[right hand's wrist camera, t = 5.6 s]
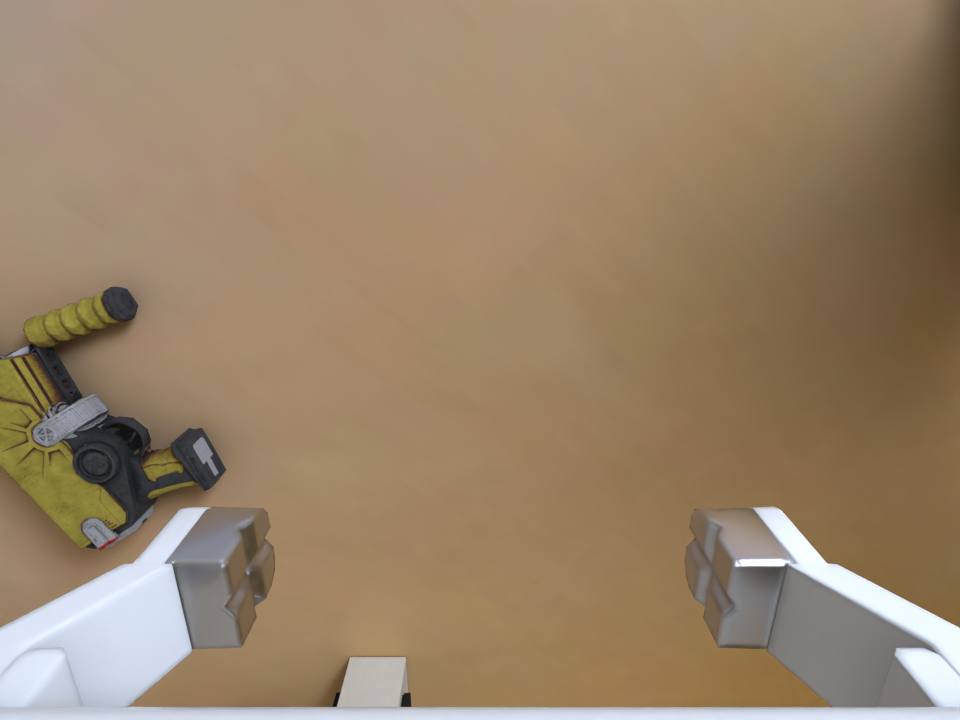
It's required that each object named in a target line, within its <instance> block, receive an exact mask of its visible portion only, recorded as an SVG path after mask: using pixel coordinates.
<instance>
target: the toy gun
mask: <svg viewBox="0 0 960 720" xmlns="http://www.w3.org/2000/svg"><path fill="white" fill-rule="evenodd" d="M137 308H138V304H137V303H136V301H135V300H134V298H133V297H132V296H131V294H130V293H129V291H128V290H127V289H125V288H120V287H110V288H109V289H107V290H105V291H103V292H101V293H100V294H98V295H96V296H94V298H93V297H92V298H86V299H82V300H80V302H79V303H78V304H76V303H71V304H69V305H67V306H65V307H63V308H62V309H57V310H52V311H50V312H48V313H46V314H45V316H35V317H32V318H30V319H27V320H26V322H25V323H24V329H23V330H24V332H25V334H26V338H27V339H28V340H29V341H30V342H31V343H32V344H31V345H28V346H26V347H24V348H22V349H20V350H18V351H14V352H11V353H9V354H8V355H7V356H4V355H0V466H1V467H2V468H3V469H4V470H5V471H6V472H7V473H8V474H9V475H10V476H11V477H12V478H13V479H14V480H15V481H16V482H17V483H18V484H19V485H20V487H21V488H22V489H23V490H24V491H25V492H26V493H27V494H28V495H29V496H30V497H31V498H32V499H33V500H34V501H35V502H36V503H37V504H38V505H39V506H40V507H41V508H42V509H43V510H44V511H45V512H46V514H47V515H48V516H49V517H50V518H51V519H52V520H53V521H54V522H55V523H56V524H57V525H58V526H59V527H60V528H61V529H62V530H63V531H64V532H65V533H66V534H67V535H68V536H69V537H70V538H71V539H72V541H73V542H74V543H75V544H76V545H77V546H78V547H79V548H80V549H83V548H85V547H87V548H92V549H99V550H101V549H103V548H110V547H111V546H113V545H114V544H116V543H118V542H119V541H121V540H122V539H124V538H126V537H127V536H129V535H130V534H132V533H134V532H135V531H136V530H137V529H138V528H139V527H140V526H141V525H142V524H143V523H144V522H145V521H146V520H147V519H148V518H149V517H150V516H151V515H152V514H153V507H154V503H155V502H156V499H157V496H159V495H161V494H164V493H167V492H170V491H173V490H176V489H179V488H183V487H188V486H194V485H200V486H201V488H202V489H203V490H204V491H206V490H208V489H210V488H211V487H212V486H213V485H214V484H215V483H216V481H217V480H218V479H219V478H220V477H221V476H222V474H223V473H224V472H225V471H226V468H225V466H224V465H223V463H222V461H221V459H220V458H219V456H218V454H217V452H216V451H215V449H214V447H213V446H212V444H211V442H210V441H209V439H208V437H207V436H206V434H205V432H204V431H203V429H202V428H201V429H190V428H189V429H188V430H187V431H186V432H184V433H183V434H182V435H181V436H180V437H179V438H177V439H176V440H175V441H174V442H173V443H172V444H171V447H169V448H167V449H157V450H156V451H153V450H151V449H150V441H151V439H150V436H149V432H148V429H146V428H145V427H144V426H143V425H141V424H140V423H139V422H137V421H136V420H135V419H134V418H128V417H117V418H116V417H113V416H110V415H108V414H105V413H106V412H108V411H109V409H108V408H107V406H106V405H105V404H104V403H103V402H102V400H101V399H100V398H99V397H98V396H97V394H92V395H90V396H88V397H86V398H83V397H82V395H81V393H80V392H79V390H78V388H77V387H76V385H75V383H74V382H73V380H72V378H71V377H70V375H69V373H68V372H67V370H66V368H65V367H64V365H63V363H62V362H61V360H60V358H59V357H58V355H57V353H56V352H55V350H54V348H53V347H52V346H54V345H57V344H59V343H61V341H66V342H68V341H70V340H72V339H74V338H76V337H77V335H81V336H85V335H87V334H89V333H91V331H92V330H93V329H100V330H101V329H103V328H106V327H107V325H108V324H109V323H113V324H118V323H120V322H121V321H128V320H132V319H133V318H134V317H135V315H136V311H137Z"/></svg>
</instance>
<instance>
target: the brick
mask: <svg viewBox="0 0 960 720" xmlns="http://www.w3.org/2000/svg"><path fill="white" fill-rule="evenodd" d="M404 693H408V681H407V665H406V657H350V659H349V663H348V666H347V670H346V674H345V678H344V681H343V685H342V689H341V693H340V696H339V700H338V704H337V707H401V701H402V695H404Z"/></svg>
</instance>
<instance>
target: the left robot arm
mask: <svg viewBox="0 0 960 720" xmlns="http://www.w3.org/2000/svg"><path fill="white" fill-rule="evenodd" d="M339 696H340V693H336V696H335V700H334V704H333V707H337V704H338V700H339ZM401 707H411V696H410V693H404V695H402V701H401Z"/></svg>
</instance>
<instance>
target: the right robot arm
mask: <svg viewBox="0 0 960 720" xmlns="http://www.w3.org/2000/svg"><path fill="white" fill-rule="evenodd" d="M269 529H270V523H269V518H268V513H267V512H266V511H265V510H264V509H263V508H224V507H212V508H209V507H186V508H183V509H180V510H179V511H178V512H177V513H176V514H175V515H174V516H173V517H172V519H171V520H170V521H169V522H168V523H167V524H166V526H165V527H164V528H163V529H162V530H161V531H160V533H159V534H158V535H157V536H156V537H155V538H154V540H153V541H152V542H151V543H150V544H149V545H148V546H147V548H146V549H145V550H144V551H143V552H142V553H141V555H140V556H139V557H138V558H137V559H136V560H135V562H134V563H133V564H123V565H121V566H119V567H117V568H115V569H113V570H111V571H109V572H107V573H105V574H103V575H101V576H99V577H98V578H96V579H94V580H92V581H90V582H88V583H86V584H84V585H82V586H80V587H78V588H76V589H74V590H72V591H70V592H69V593H67V594H65V595H63V596H61V597H59V598H57V599H55V600H53V601H51V602H49V603H47V604H45V605H43V606H41V607H39V608H38V609H36V610H34V611H32V612H30V613H28V614H26V615H24V616H22V617H20V618H18V619H16V620H14V621H12V622H10V623H9V624H7V625H5V626H3V627H1V628H0V720H960V628H959V627H957V626H955V625H953V624H951V623H949V622H947V621H945V620H943V619H941V618H940V617H938V616H936V615H934V614H932V613H930V612H928V611H926V610H924V609H922V608H920V607H918V606H916V605H914V604H913V603H911V602H909V601H907V600H905V599H903V598H901V597H899V596H897V595H895V594H893V593H891V592H889V591H887V590H886V589H884V588H882V587H880V586H878V585H876V584H874V583H872V582H870V581H868V580H866V579H864V578H862V577H860V576H859V575H857V574H855V573H853V572H851V571H849V570H847V569H845V568H843V567H841V566H839V565H837V564H827V563H826V562H825V560H824V559H823V558H822V557H821V556H820V555H819V554H818V552H817V551H816V550H815V549H814V548H813V547H812V545H811V544H810V543H809V542H808V541H807V540H806V538H805V537H804V536H803V535H802V534H801V533H800V531H799V530H798V529H797V528H796V527H795V526H794V524H793V523H792V522H791V521H790V520H789V519H788V518H787V516H786V515H785V514H784V513H783V512H782V511H781V510H780V509H778V508H776V507H753V508H734V509H695V510H694V512H693V514H692V516H691V522H690V529H691V531H692V532H693V534H694V536H695V539H694V540H693V541H692V542H691V543H690V544H689V545H688V546H687V547H686V555H685V570H686V578H687V581H688V585H689V588H690V590H691V592H692V595H693V597H694V599H696V600H697V601H699V602H700V603H701V604H703V605H704V606H705V611H704V617H703V618H704V620H705V622H706V624H707V626H708V628H709V630H710V632H711V634H712V636H713V638H714V640H715V642H716V644H717V646H718V648H751V649H768V652H769V653H770V654H771V655H772V656H773V657H775V658H776V659H777V660H778V661H779V662H780V663H782V664H783V665H784V666H785V667H786V668H787V669H789V670H790V671H791V672H792V673H793V674H794V675H796V676H797V677H798V678H799V679H800V680H801V681H803V682H804V683H805V684H806V685H807V686H808V687H810V688H811V689H812V690H813V691H814V692H815V693H817V694H818V695H819V696H820V697H821V698H822V699H824V700H825V701H826V702H827V703H828V704H829V705H831V706H832V707H128V706H130V705H131V704H132V703H133V702H134V701H135V700H137V699H138V698H139V697H140V696H141V695H142V694H144V693H145V692H146V691H147V690H148V689H149V688H151V687H152V686H153V685H154V684H155V683H156V682H158V681H159V680H160V679H161V678H162V677H163V676H165V675H166V674H167V673H168V672H169V671H170V670H172V669H173V668H174V667H175V666H176V665H177V664H179V663H180V662H181V661H182V660H183V659H184V658H186V657H187V656H188V655H189V654H190V653H191V652H192V649H208V648H242V646H243V644H244V642H245V640H246V638H247V636H248V634H249V632H250V630H251V628H252V626H253V624H254V622H255V620H256V611H255V606H256V605H257V604H259V603H260V602H261V601H263V600H264V599H266V597H267V595H268V592H269V590H270V588H271V585H272V581H273V576H274V572H275V554H274V547H273V546H272V545H271V544H270V543H269V542H268V541H267V540H266V539H265V536H266V534H267V532H268V531H269Z"/></svg>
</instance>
